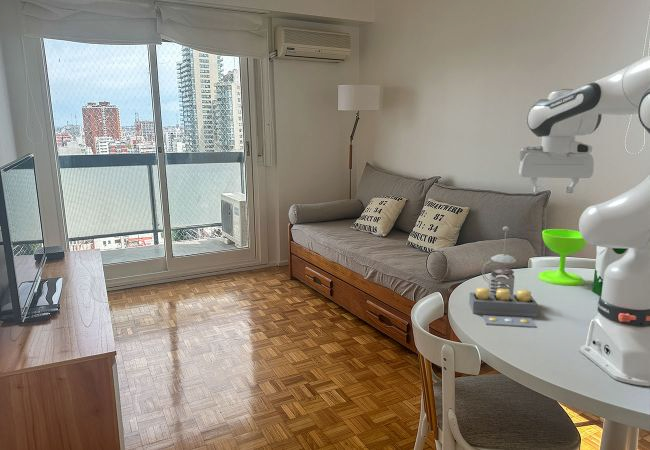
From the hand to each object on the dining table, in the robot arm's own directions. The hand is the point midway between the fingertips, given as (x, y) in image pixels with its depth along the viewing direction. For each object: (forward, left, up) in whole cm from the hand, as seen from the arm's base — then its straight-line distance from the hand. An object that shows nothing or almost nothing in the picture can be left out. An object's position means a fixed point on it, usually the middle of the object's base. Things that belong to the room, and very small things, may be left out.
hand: (553, 192), depth 138 cm
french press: (+9, +12, -38) cm, 41 cm away
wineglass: (+33, -16, -38) cm, 53 cm away
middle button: (-3, +13, -34) cm, 37 cm away
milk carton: (+17, -26, -38) cm, 49 cm away
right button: (-3, +7, -34) cm, 35 cm away
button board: (-7, +13, -38) cm, 40 cm away
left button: (-3, +19, -34) cm, 39 cm away
